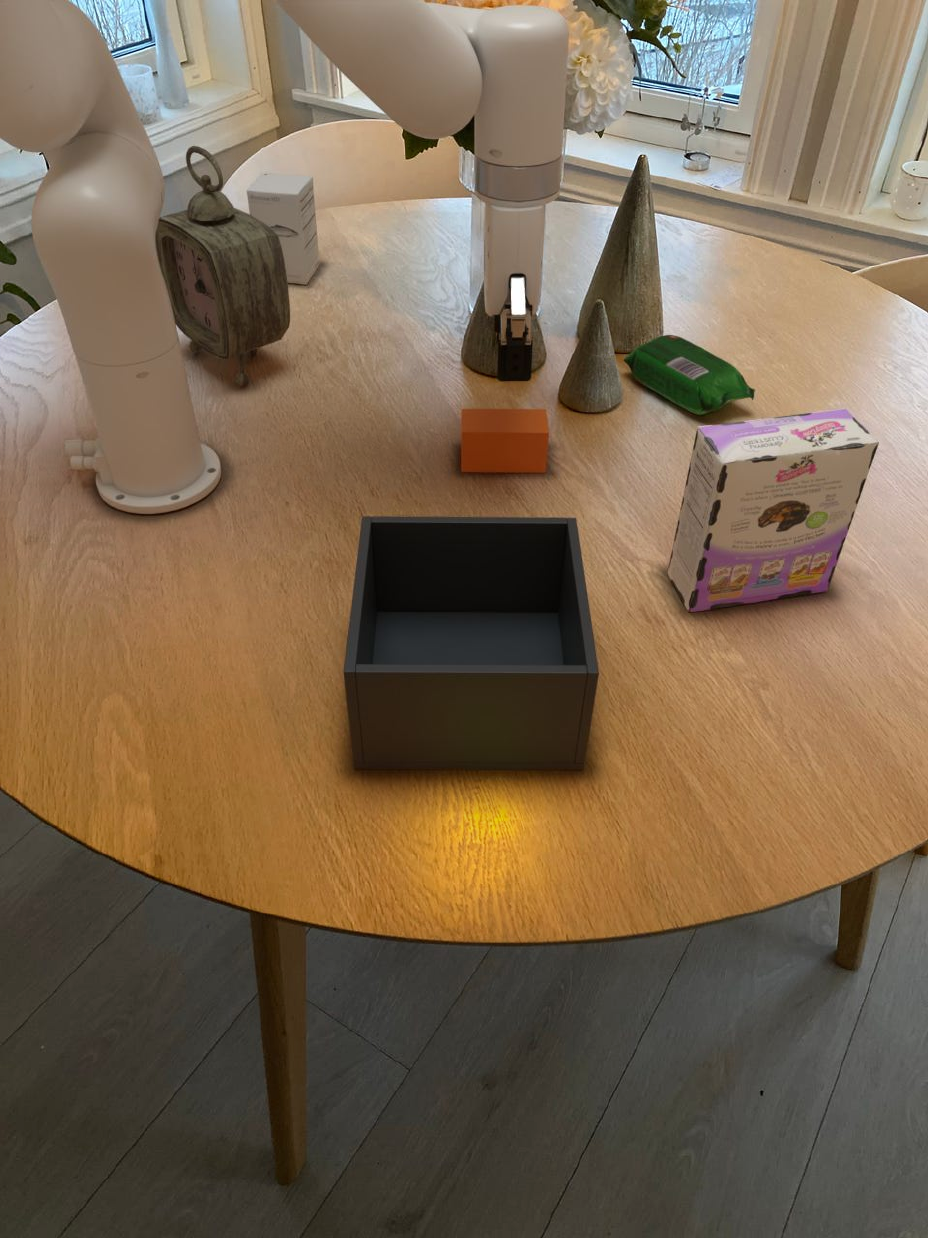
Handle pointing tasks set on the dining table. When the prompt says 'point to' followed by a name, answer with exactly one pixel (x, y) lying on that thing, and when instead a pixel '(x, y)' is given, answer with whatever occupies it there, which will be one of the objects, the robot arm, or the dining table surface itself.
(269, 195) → the white packaging box
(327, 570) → the dining table surface
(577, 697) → the open box bin
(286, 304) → the tabletop clock
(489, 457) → the orange rectangular block
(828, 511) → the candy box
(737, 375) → the snack package
